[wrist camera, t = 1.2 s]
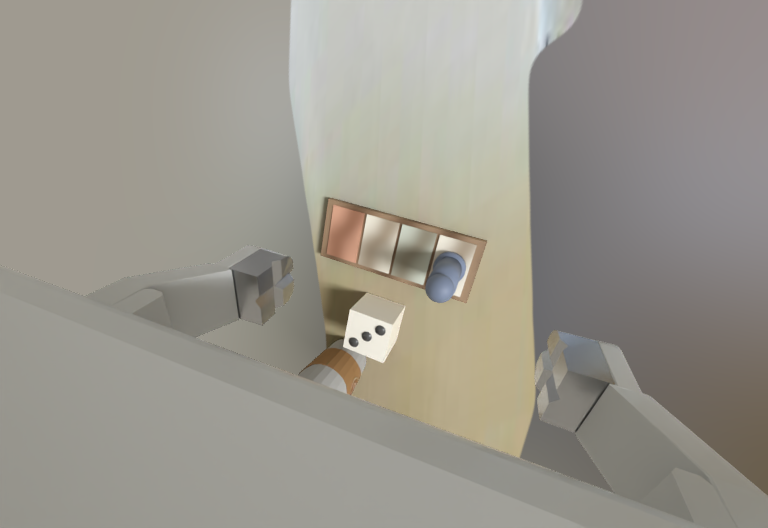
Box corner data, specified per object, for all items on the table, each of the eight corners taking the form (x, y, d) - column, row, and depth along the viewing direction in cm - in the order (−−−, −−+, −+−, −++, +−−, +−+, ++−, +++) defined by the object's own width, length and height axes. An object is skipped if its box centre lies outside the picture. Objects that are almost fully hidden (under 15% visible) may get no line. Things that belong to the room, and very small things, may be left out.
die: (405, 305, 45) (392, 325, 39) (396, 340, 47) (383, 363, 41) (367, 292, 46) (349, 309, 41) (360, 326, 48) (342, 347, 43)
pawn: (470, 276, 39) (463, 306, 31) (440, 285, 41) (425, 315, 32) (460, 247, 39) (449, 269, 30) (429, 256, 40) (412, 280, 32)
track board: (486, 240, 39) (486, 242, 37) (467, 300, 42) (466, 303, 40) (331, 197, 44) (327, 198, 43) (324, 253, 47) (319, 255, 46)
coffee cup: (361, 386, 52) (313, 464, 38) (319, 359, 53) (259, 425, 39) (381, 350, 48) (336, 421, 35) (336, 322, 50) (276, 380, 36)
